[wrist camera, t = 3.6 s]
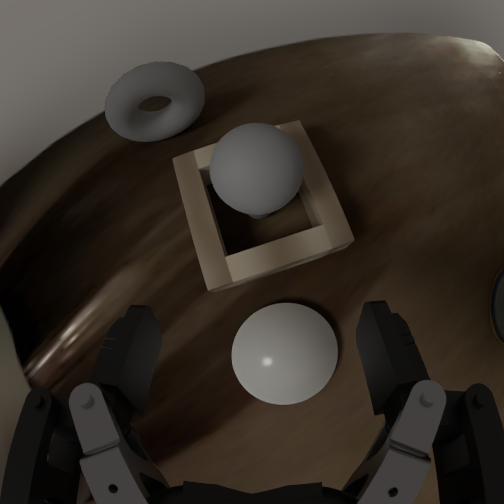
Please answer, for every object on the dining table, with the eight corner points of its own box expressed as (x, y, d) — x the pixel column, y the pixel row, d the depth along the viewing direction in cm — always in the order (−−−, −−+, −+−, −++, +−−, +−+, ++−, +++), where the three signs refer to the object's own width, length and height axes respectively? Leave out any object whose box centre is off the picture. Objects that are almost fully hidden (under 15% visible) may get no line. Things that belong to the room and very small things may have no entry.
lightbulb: (282, 249, 25) (294, 206, 14) (217, 230, 25) (184, 177, 15) (299, 189, 26) (319, 117, 15) (238, 172, 26) (222, 96, 16)
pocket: (215, 292, 24) (207, 290, 21) (182, 175, 27) (172, 158, 23) (343, 249, 25) (354, 240, 21) (296, 140, 27) (299, 120, 23)
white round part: (251, 413, 22) (251, 416, 21) (219, 321, 24) (217, 322, 23) (347, 381, 22) (349, 383, 21) (317, 288, 24) (319, 288, 23)
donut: (209, 107, 28) (191, 40, 19) (216, 128, 28) (197, 60, 18) (128, 136, 28) (88, 82, 18) (130, 159, 28) (85, 106, 18)
